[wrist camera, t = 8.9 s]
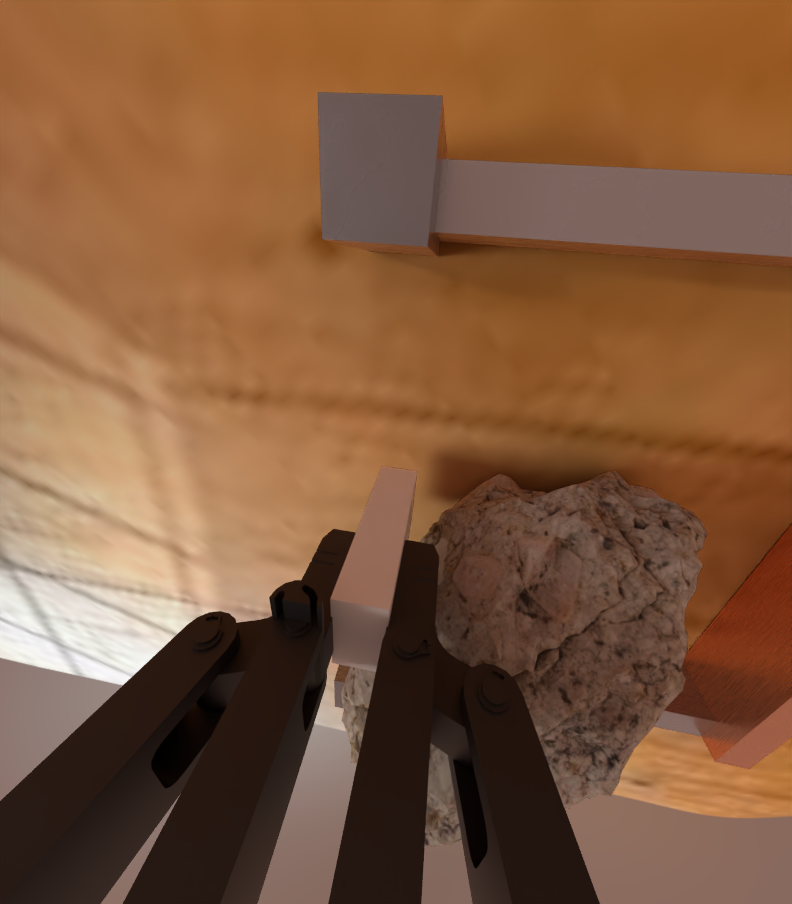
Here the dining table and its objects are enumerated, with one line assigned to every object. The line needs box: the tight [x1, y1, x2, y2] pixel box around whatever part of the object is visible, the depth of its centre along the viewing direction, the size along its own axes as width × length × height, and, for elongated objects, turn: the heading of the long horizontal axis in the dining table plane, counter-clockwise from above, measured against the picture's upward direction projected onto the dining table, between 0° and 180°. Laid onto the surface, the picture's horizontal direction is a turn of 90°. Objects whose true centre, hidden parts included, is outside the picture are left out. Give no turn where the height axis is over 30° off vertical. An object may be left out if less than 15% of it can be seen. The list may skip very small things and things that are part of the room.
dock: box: [318, 92, 792, 769], centre depth 13 cm, size 20×23×5 cm
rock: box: [341, 471, 708, 846], centre depth 13 cm, size 14×10×8 cm
